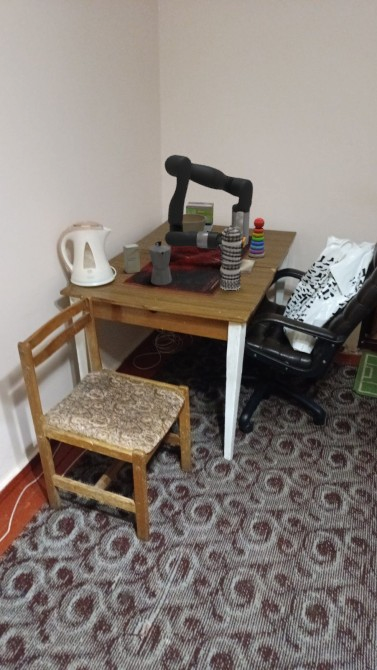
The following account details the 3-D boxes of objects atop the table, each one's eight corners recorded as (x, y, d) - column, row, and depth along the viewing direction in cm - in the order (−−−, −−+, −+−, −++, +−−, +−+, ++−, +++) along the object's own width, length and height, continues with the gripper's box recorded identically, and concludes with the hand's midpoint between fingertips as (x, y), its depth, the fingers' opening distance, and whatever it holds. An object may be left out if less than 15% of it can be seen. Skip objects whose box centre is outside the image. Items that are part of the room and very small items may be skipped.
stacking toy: (264, 258, 222) (266, 220, 213) (247, 258, 224) (249, 220, 214) (265, 253, 229) (267, 216, 220) (249, 252, 230) (251, 215, 221)
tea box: (185, 231, 265) (185, 205, 258) (188, 226, 274) (188, 201, 267) (211, 232, 263) (211, 206, 256) (213, 227, 272) (213, 202, 264)
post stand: (219, 271, 208) (221, 215, 196) (226, 261, 220) (227, 207, 208) (250, 274, 205) (253, 217, 192) (254, 263, 217) (258, 209, 204)
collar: (231, 246, 206) (231, 240, 204) (233, 242, 210) (233, 236, 209) (243, 247, 204) (244, 241, 203) (245, 243, 209) (246, 237, 208)
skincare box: (128, 274, 207) (126, 248, 201) (124, 270, 211) (122, 245, 205) (141, 271, 210) (139, 245, 204) (137, 268, 213) (135, 243, 207)
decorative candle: (244, 289, 190) (247, 230, 177) (223, 292, 187) (225, 232, 175) (236, 281, 197) (238, 224, 185) (216, 284, 195) (217, 226, 183)
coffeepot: (175, 286, 194) (173, 245, 185) (153, 288, 192) (151, 247, 184) (168, 273, 207) (166, 234, 199) (147, 275, 205) (145, 236, 197)
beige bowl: (185, 233, 261) (185, 212, 255) (212, 238, 252) (212, 216, 246) (166, 241, 248) (165, 219, 242) (193, 247, 239) (193, 224, 233)
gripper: (204, 236, 202) (242, 239, 198) (211, 227, 214) (247, 229, 210) (204, 252, 206) (241, 255, 202) (211, 243, 218) (246, 245, 214)
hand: (244, 242), depth 206 cm, fingers closed on collar, 5 cm apart
